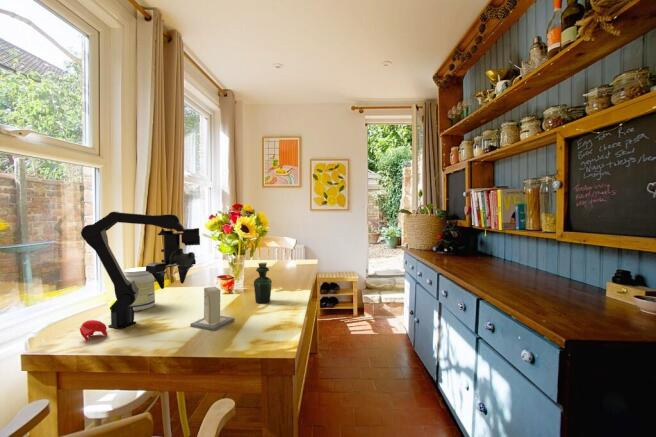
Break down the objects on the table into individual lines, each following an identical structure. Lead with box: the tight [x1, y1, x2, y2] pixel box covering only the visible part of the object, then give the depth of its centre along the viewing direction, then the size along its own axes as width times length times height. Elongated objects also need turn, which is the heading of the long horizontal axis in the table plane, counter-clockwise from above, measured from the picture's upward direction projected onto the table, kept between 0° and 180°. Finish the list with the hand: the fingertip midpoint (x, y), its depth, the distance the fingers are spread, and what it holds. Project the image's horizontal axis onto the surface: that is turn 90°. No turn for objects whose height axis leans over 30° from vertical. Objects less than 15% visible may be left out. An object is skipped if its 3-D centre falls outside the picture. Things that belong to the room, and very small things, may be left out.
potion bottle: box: [253, 262, 273, 305], centre depth 144 cm, size 8×8×18 cm
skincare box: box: [203, 286, 221, 324], centre depth 118 cm, size 6×4×12 cm
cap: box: [79, 319, 108, 342], centre depth 105 cm, size 8×6×6 cm
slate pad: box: [189, 315, 235, 332], centre depth 118 cm, size 11×11×1 cm
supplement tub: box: [123, 266, 156, 312], centre depth 137 cm, size 12×12×17 cm
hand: (172, 286), depth 122 cm, fingers open, 9 cm apart
